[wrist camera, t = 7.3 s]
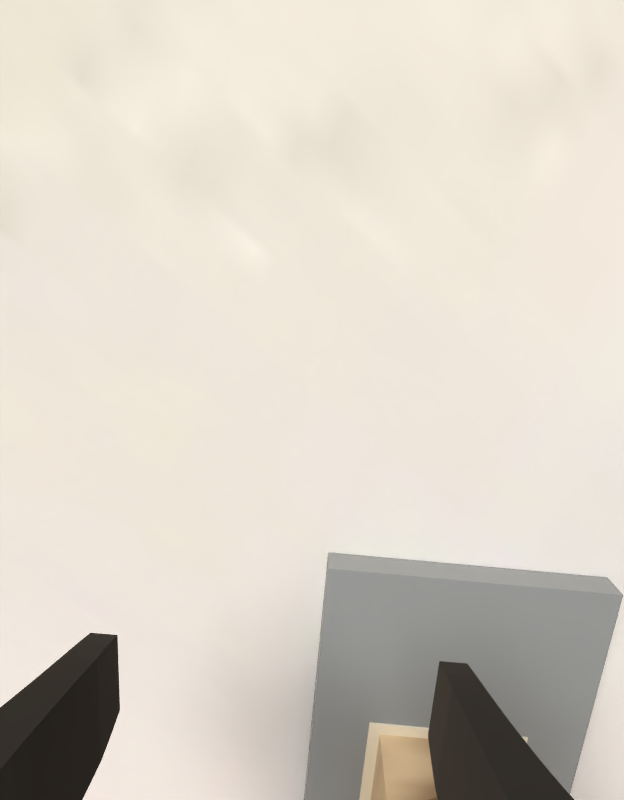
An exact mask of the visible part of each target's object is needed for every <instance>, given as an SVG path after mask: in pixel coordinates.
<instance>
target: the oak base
mask: <svg viewBox="0 0 624 800" xmlns="http://www.w3.org/2000/svg"><path fill="white" fill-rule="evenodd" d="M435 797H437V794H436V790H435V784H434V777H433V770H432V763H431V756H430V748H429V740H428V739H425V738H414V737H404V736H393V735H382V734H380V735H379V742H378V750H377V757H376V764H375V771H374V778H373V785H372V792H371V799H370V800H429V799H432V798H435Z"/></svg>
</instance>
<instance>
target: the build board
mask: <svg viewBox="0 0 624 800" xmlns="http://www.w3.org/2000/svg"><path fill="white" fill-rule="evenodd" d="M622 597H623V594H622V593H621V592H620V591H619V590H618V589H617V588H616V587H615V586H614V584H613V583H612V582H611V581H610V580H609V579H608V578H605V577H594V576H583V575H572V574H560V573H549V572H538V571H527V570H516V569H505V568H493V567H482V566H471V565H460V564H449V563H438V562H426V561H415V560H404V559H393V558H382V557H370V556H359V555H348V554H337V553H328V562H327V572H326V582H325V592H324V602H323V612H322V622H321V632H320V643H319V653H318V663H317V673H316V683H315V693H314V703H313V713H312V723H311V734H310V744H309V754H308V764H307V774H306V784H305V794H304V800H370V799H371V792H372V785H373V778H374V771H375V764H376V757H377V750H378V742H379V735H380V734H382V735H393V736H404V737H414V738H425V739H428V731H429V725H430V718H431V712H432V705H433V699H434V693H435V686H436V680H437V673H438V667H439V661H444V662H456V663H467V664H468V665H469V666H470V668H471V669H472V670H473V672H474V673H475V674H476V676H477V677H478V679H479V680H480V681H481V683H482V684H483V686H484V687H485V688H486V690H487V691H488V692H489V694H490V695H491V697H492V698H493V699H494V701H495V702H496V703H497V705H498V706H499V708H500V709H501V710H502V712H503V713H504V714H505V716H506V717H507V718H508V720H509V721H510V722H511V724H512V725H513V726H514V727H515V729H516V730H517V731H518V733H519V734H520V735H521V736H522V738H523V739H524V740H525V741H526V743H527V744H528V745H529V747H530V748H531V749H532V750H533V752H534V753H535V754H536V755H537V757H538V758H539V759H540V760H541V761H542V763H543V764H544V765H545V766H546V768H547V769H548V770H549V771H550V772H551V774H552V775H553V776H554V777H555V778H556V779H557V781H558V782H559V783H560V784H561V785H562V786H563V787H564V789H565V790H566V791H567V792H568V793H569V794H570V791H571V788H572V784H573V780H574V776H575V773H576V769H577V765H578V761H579V758H580V754H581V750H582V746H583V743H584V739H585V735H586V731H587V728H588V724H589V720H590V716H591V713H592V709H593V705H594V702H595V698H596V694H597V690H598V687H599V683H600V679H601V675H602V672H603V668H604V664H605V660H606V657H607V653H608V649H609V645H610V642H611V638H612V634H613V630H614V627H615V623H616V619H617V615H618V612H619V608H620V604H621V601H622Z"/></svg>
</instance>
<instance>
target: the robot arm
mask: <svg viewBox="0 0 624 800" xmlns="http://www.w3.org/2000/svg"><path fill="white" fill-rule="evenodd" d="M119 711H120V703H119V672H118V642H117V635H109V634H97V633H90V634H89V635H87V636H86V637H85V638H84V639H83V640H81V641H80V642H79V643H78V644H76V645H75V646H74V647H73V648H72V649H70V650H69V651H68V652H67V653H66V654H65V655H63V656H62V657H61V658H60V659H59V660H57V661H56V662H55V663H54V664H53V665H52V666H50V667H49V668H48V669H47V670H46V671H44V672H43V673H42V674H41V675H40V676H38V677H37V678H36V679H35V680H34V681H32V682H31V683H30V684H29V685H28V686H26V687H25V688H24V689H23V690H21V691H20V692H19V693H18V694H16V695H15V696H14V697H13V698H12V699H10V700H9V701H8V702H7V703H5V704H4V705H3V706H2V707H0V800H82V799H83V797H84V795H85V793H86V791H87V789H88V787H89V785H90V783H91V781H92V779H93V777H94V774H95V772H96V770H97V768H98V766H99V764H100V762H101V760H102V757H103V754H104V752H105V749H106V747H107V744H108V741H109V739H110V736H111V733H112V730H113V727H114V725H115V722H116V719H117V716H118V713H119ZM428 740H429V748H430V756H431V763H432V770H433V777H434V784H435V790H436V794H437V798H438V800H574V799H573V798H572V797H571V796H570V794H569V793H568V792H567V791H566V790H565V789H564V787H563V786H562V785H561V784H560V783H559V782H558V781H557V779H556V778H555V777H554V776H553V775H552V774H551V772H550V771H549V770H548V769H547V768H546V766H545V765H544V764H543V763H542V761H541V760H540V759H539V758H538V757H537V755H536V754H535V753H534V752H533V750H532V749H531V748H530V747H529V745H528V744H527V743H526V741H525V740H524V739H523V738H522V736H521V735H520V734H519V733H518V731H517V730H516V729H515V727H514V726H513V725H512V724H511V722H510V721H509V720H508V718H507V717H506V716H505V714H504V713H503V712H502V710H501V709H500V708H499V706H498V705H497V703H496V702H495V701H494V699H493V698H492V697H491V695H490V694H489V692H488V691H487V690H486V688H485V687H484V686H483V684H482V683H481V681H480V680H479V679H478V677H477V676H476V674H475V673H474V672H473V670H472V669H471V668H470V666H469V665H468V664H467V663H456V662H444V661H439V667H438V673H437V680H436V686H435V693H434V699H433V705H432V712H431V718H430V725H429V731H428Z"/></svg>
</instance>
